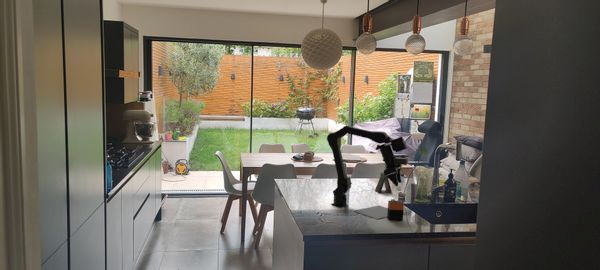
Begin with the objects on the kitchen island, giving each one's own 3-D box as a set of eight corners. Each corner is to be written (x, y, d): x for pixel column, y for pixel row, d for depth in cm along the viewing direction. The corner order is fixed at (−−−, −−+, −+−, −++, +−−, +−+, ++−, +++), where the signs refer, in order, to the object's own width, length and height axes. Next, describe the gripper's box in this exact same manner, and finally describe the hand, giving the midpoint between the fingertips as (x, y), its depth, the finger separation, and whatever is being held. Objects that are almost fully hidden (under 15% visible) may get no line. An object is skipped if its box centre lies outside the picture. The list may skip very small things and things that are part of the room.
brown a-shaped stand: (378, 193, 263) (379, 173, 262) (374, 190, 269) (376, 171, 268) (392, 193, 265) (393, 174, 264) (388, 190, 271) (389, 172, 269)
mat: (353, 211, 220) (353, 210, 220) (378, 206, 233) (378, 205, 232) (377, 219, 208) (377, 218, 208) (403, 213, 220) (403, 212, 220)
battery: (386, 218, 210) (388, 198, 209) (400, 218, 210) (401, 198, 209) (389, 221, 206) (390, 200, 205) (403, 221, 206) (404, 201, 205)
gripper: (400, 152, 207) (411, 183, 206) (405, 148, 224) (416, 176, 223) (378, 159, 211) (389, 189, 210) (385, 155, 228) (396, 182, 227)
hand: (398, 184), depth 217 cm, fingers open, 9 cm apart
